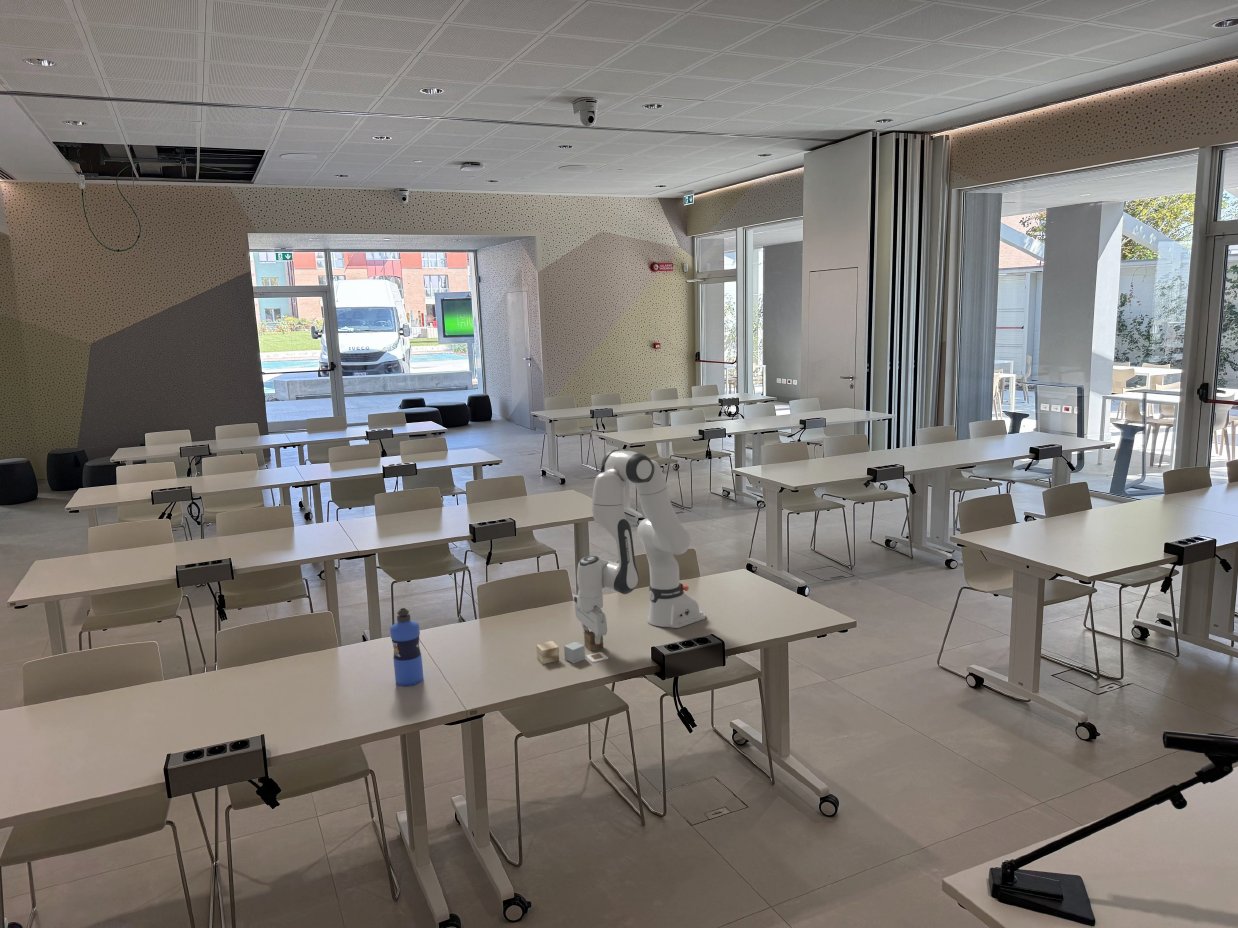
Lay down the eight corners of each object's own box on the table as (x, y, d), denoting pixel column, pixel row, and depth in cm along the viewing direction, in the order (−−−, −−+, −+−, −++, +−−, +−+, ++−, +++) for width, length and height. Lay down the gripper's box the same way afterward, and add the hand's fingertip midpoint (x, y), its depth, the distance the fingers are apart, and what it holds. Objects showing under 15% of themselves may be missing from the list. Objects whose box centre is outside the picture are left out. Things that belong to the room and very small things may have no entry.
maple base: (553, 654, 298) (552, 640, 297) (559, 660, 293) (558, 646, 292) (536, 657, 295) (536, 644, 294) (543, 664, 290) (542, 650, 289)
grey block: (576, 654, 296) (575, 641, 295) (585, 659, 293) (584, 645, 292) (564, 659, 293) (564, 645, 292) (573, 663, 289) (572, 649, 288)
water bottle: (399, 688, 276) (391, 616, 271) (392, 678, 284) (385, 607, 279) (427, 681, 280) (420, 610, 275) (419, 671, 288) (413, 601, 283)
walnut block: (597, 642, 306) (596, 629, 305) (603, 647, 301) (602, 634, 300) (584, 645, 304) (584, 632, 303) (590, 650, 299) (589, 637, 298)
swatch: (601, 652, 297) (600, 651, 297) (608, 658, 292) (608, 657, 292) (585, 656, 295) (585, 654, 295) (592, 662, 289) (592, 661, 289)
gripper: (611, 609, 291) (612, 647, 294) (587, 592, 309) (588, 627, 312) (594, 612, 289) (595, 650, 291) (571, 595, 307) (572, 631, 309)
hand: (591, 638), depth 302 cm, fingers open, 8 cm apart
